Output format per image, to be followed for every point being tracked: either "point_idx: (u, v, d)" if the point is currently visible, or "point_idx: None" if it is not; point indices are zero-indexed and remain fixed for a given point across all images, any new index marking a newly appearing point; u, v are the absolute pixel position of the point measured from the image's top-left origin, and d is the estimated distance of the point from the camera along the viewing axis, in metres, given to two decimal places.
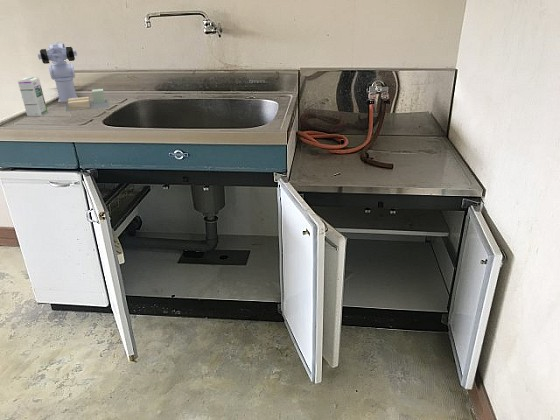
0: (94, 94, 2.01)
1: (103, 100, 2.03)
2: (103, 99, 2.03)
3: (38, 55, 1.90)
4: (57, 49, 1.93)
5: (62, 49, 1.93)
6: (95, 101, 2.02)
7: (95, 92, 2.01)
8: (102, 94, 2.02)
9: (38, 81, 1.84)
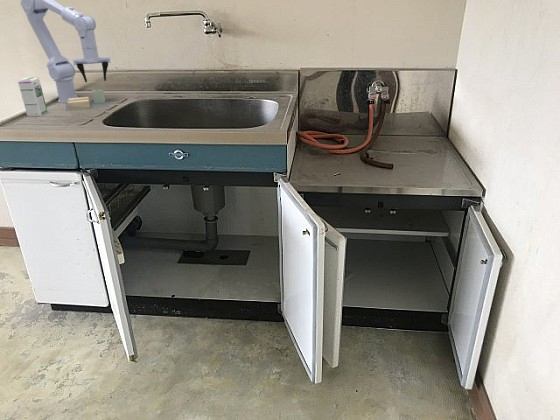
0: (94, 94, 2.01)
1: (103, 100, 2.03)
2: (103, 99, 2.03)
3: (74, 64, 1.95)
4: None
5: (97, 61, 1.97)
6: (95, 101, 2.02)
7: (95, 92, 2.01)
8: (102, 94, 2.02)
9: (38, 81, 1.84)
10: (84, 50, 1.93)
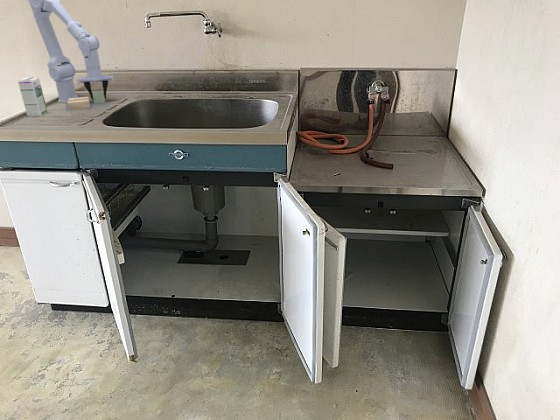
0: (94, 94, 2.01)
1: (103, 100, 2.03)
2: (103, 99, 2.03)
3: (78, 83, 1.99)
4: None
5: (101, 79, 2.00)
6: (95, 101, 2.02)
7: (95, 92, 2.01)
8: (102, 94, 2.02)
9: (38, 81, 1.84)
10: (88, 69, 1.97)
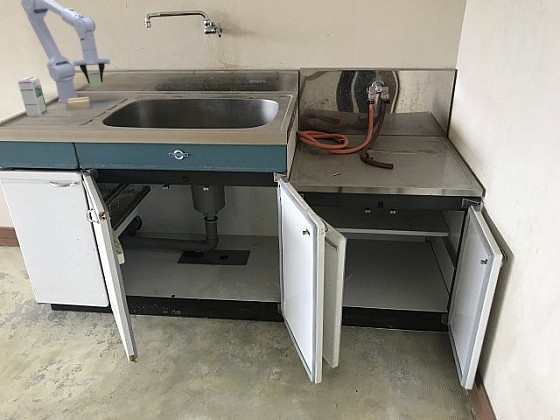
0: (90, 78, 1.98)
1: (100, 84, 2.00)
2: (100, 83, 2.00)
3: (74, 66, 1.95)
4: None
5: (97, 62, 1.97)
6: (91, 85, 1.99)
7: (91, 76, 1.98)
8: (98, 77, 1.99)
9: (38, 81, 1.84)
10: (84, 51, 1.93)
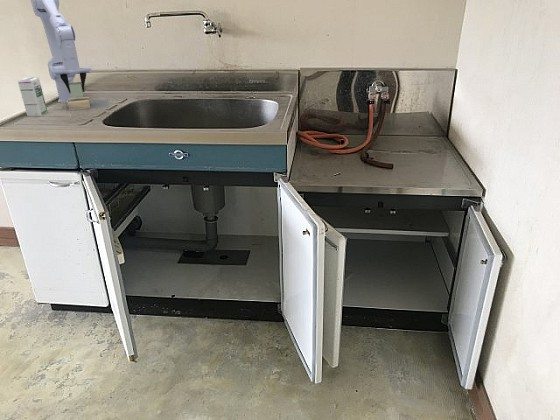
0: (71, 87, 1.91)
1: (81, 94, 1.94)
2: (81, 93, 1.94)
3: (54, 75, 1.89)
4: None
5: (78, 71, 1.90)
6: (72, 95, 1.93)
7: (72, 85, 1.91)
8: (79, 87, 1.92)
9: (38, 81, 1.84)
10: (64, 60, 1.87)
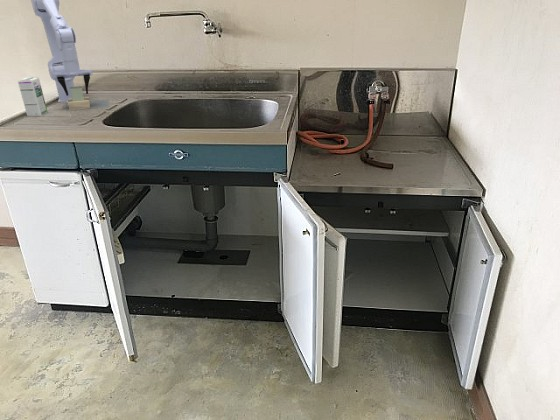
0: (72, 92, 1.92)
1: (82, 98, 1.95)
2: (82, 97, 1.94)
3: (54, 78, 1.89)
4: None
5: (79, 73, 1.91)
6: (74, 99, 1.94)
7: (73, 89, 1.92)
8: (80, 91, 1.93)
9: (38, 81, 1.84)
10: (65, 63, 1.87)
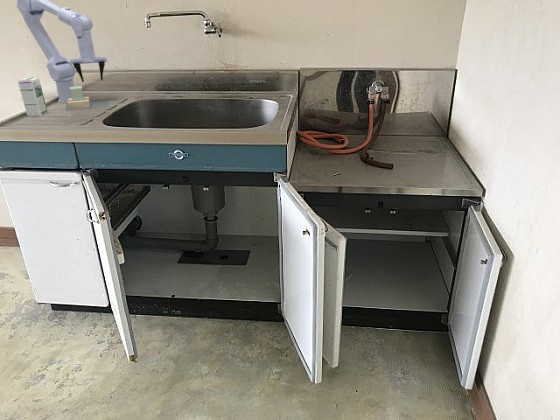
0: (72, 92, 1.92)
1: (82, 98, 1.95)
2: (82, 97, 1.94)
3: (71, 64, 1.96)
4: None
5: (94, 60, 1.98)
6: (74, 99, 1.94)
7: (73, 89, 1.92)
8: (80, 91, 1.93)
9: (38, 81, 1.84)
10: (81, 50, 1.94)
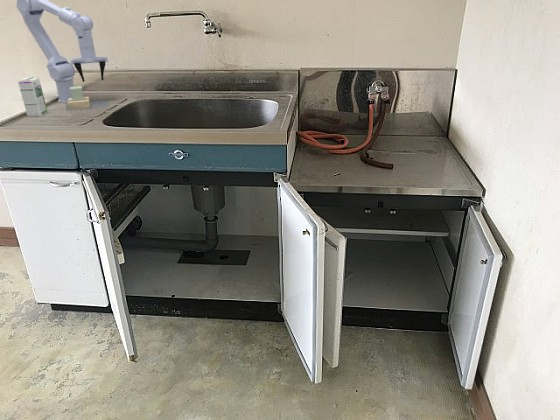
0: (72, 92, 1.92)
1: (82, 98, 1.95)
2: (82, 97, 1.94)
3: None
4: None
5: (95, 60, 1.98)
6: (74, 99, 1.94)
7: (73, 89, 1.92)
8: (80, 91, 1.93)
9: (38, 81, 1.84)
10: (81, 50, 1.95)
